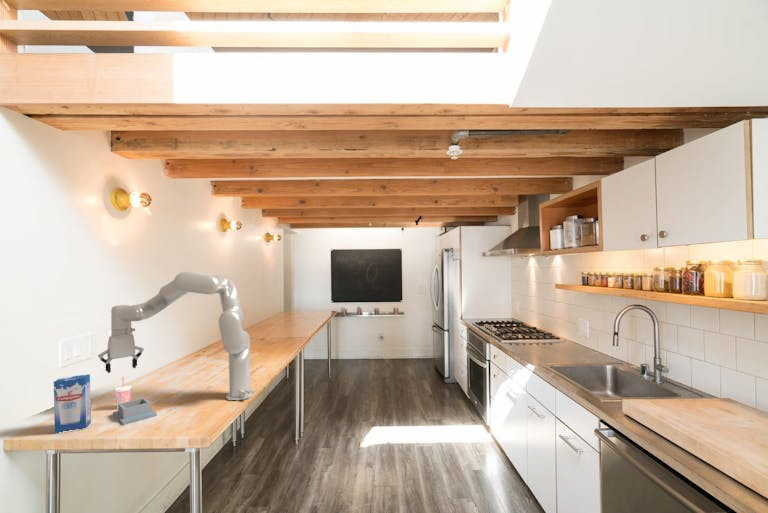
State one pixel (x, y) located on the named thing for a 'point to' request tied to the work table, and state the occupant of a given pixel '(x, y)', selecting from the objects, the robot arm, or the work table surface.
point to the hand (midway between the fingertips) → (121, 369)
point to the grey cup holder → (134, 411)
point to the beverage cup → (123, 393)
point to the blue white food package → (72, 403)
